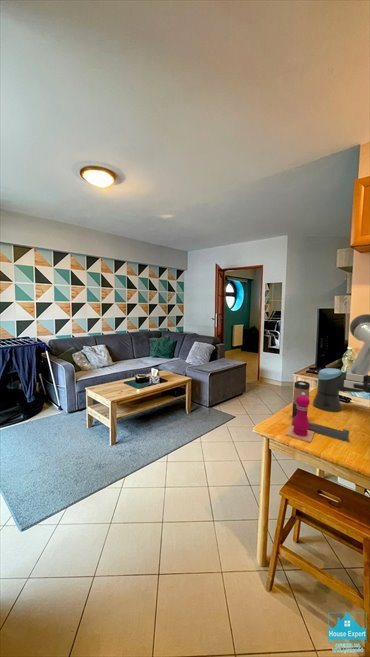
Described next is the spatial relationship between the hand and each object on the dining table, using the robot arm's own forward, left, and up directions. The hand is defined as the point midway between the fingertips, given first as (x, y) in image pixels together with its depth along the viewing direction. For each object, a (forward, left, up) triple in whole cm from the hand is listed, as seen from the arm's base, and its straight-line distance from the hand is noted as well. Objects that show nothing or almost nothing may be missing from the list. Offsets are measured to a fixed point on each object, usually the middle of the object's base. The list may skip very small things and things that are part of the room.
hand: (344, 379), depth 112 cm
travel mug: (0, -27, -30) cm, 40 cm away
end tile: (+11, -12, -30) cm, 34 cm away
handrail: (+1, -11, -30) cm, 32 cm away
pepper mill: (+11, -12, -30) cm, 34 cm away
